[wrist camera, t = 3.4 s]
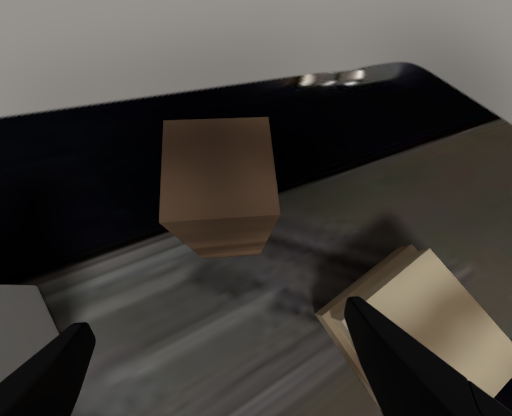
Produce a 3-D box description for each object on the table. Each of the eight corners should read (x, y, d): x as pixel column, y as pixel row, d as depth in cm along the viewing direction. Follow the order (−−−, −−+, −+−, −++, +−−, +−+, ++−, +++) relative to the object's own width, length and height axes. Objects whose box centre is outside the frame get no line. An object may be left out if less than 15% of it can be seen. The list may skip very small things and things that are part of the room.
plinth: (481, 348, 20) (537, 361, 16) (397, 435, 18) (439, 475, 14) (397, 247, 22) (429, 239, 19) (314, 313, 20) (331, 319, 16)
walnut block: (260, 254, 21) (280, 214, 10) (203, 258, 21) (158, 222, 10) (255, 201, 23) (268, 116, 12) (202, 205, 23) (163, 120, 11)
